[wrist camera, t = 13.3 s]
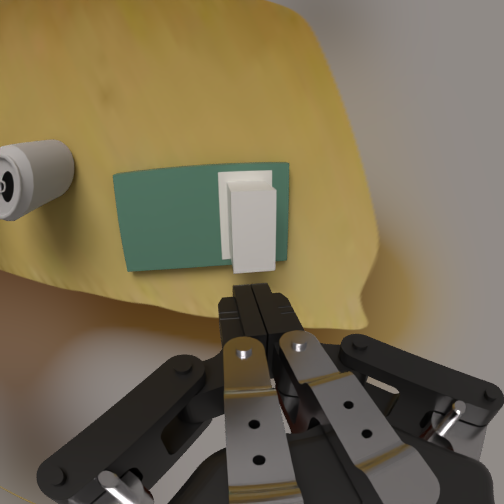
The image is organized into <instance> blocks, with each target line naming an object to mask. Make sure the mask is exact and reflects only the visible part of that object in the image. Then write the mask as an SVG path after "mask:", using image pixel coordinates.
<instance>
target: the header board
mask: <svg viewBox="0 0 504 504" xmlns="http://www.w3.org/2000/svg"><path fill="white" fill-rule="evenodd" d="M260 180H264V181H266V182H267V183H268V184H269V185H271V186H272V187H273V188H274V189H276V254H275V261H285V260H287V241H288V206H289V163H287V162H253V163H225V164H207V165H192V166H179V167H168V168H158V169H149V170H140V171H132V172H124V173H117V174H114V175H113V182H114V191H115V199H116V207H117V214H118V221H119V227H120V233H121V239H122V245H123V250H124V256H125V261H126V266H127V271H128V272H130V271H146V270H161V269H176V268H191V267H205V266H219V265H232V262H231V257H230V252H229V234H228V209H227V182H233V181H260Z"/></svg>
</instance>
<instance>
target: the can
mask: <svg viewBox="0 0 504 504" xmlns="http://www.w3.org/2000/svg"><path fill="white" fill-rule="evenodd" d="M73 175H74V160H73V157H72V153H71V152H70V150H69V149H68V147H67V146H66V145H65V144H64V143H62V142H61V141H58V140H54V139H53V140H43V141H34V142H26V143H19V144H12V145H7V146H2V147H0V219H3V220H6V221H15V220H17V219H18V218H20V217H22V216H24V215H26V214H27V213H29V212H31V211H33V210H34V209H36V208H38V207H40V206H42V205H44V204H46V203H48V202H49V201H51V200H53V199H55V198H57V197H59V196H61V195H63V194H64V193H65V192H66V191H67V190H68V188H69V186H70V184H71V182H72V180H73Z"/></svg>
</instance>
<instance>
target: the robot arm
mask: <svg viewBox="0 0 504 504" xmlns="http://www.w3.org/2000/svg"><path fill="white" fill-rule="evenodd" d="M218 311H219V325H220V335H221V343H222V350H221V351H220V353H219V354H218V355H216V356H215V357H213V358H211V359H208V360H205V361H201V360H200V359H199V358H197V357H195V356H192V355H177V356H174V357H172V358H170V359H168V360H167V361H166V362H165V363H164V364H162V365H161V366H160V367H159V368H158V369H157V370H155V371H154V372H153V373H152V374H151V375H150V376H148V377H147V378H146V379H145V380H144V381H142V382H141V383H140V384H139V385H138V386H136V387H135V388H134V389H133V390H132V391H131V392H129V393H128V394H127V395H126V396H125V397H123V398H122V399H121V400H120V401H119V402H117V403H116V404H115V405H114V406H112V407H111V408H110V409H109V410H108V411H106V412H105V413H104V414H103V415H102V416H100V417H99V418H98V419H97V420H95V421H94V422H93V423H92V424H90V426H88V427H87V428H86V429H84V430H83V431H82V432H81V433H79V434H78V435H77V436H76V437H74V438H73V439H72V440H71V441H69V442H68V443H67V444H65V445H64V446H63V447H62V448H60V449H59V450H58V451H57V452H55V453H54V454H53V455H51V456H50V457H49V458H48V459H46V460H45V461H44V462H43V463H42V464H41V465H40V466H39V468H38V471H37V483H38V486H39V488H40V489H41V491H42V492H43V493H44V494H45V495H47V496H48V497H49V498H51V499H52V500H54V501H55V502H57V503H58V504H154V498H153V496H152V494H151V492H150V491H149V490H150V489H151V488H152V487H153V486H154V485H155V484H156V483H157V481H158V480H159V479H160V478H161V477H162V476H163V475H164V474H165V473H166V472H167V471H168V470H169V469H170V468H171V467H172V466H173V465H174V463H175V462H176V461H177V460H178V459H179V458H180V457H181V456H182V455H183V454H184V453H185V452H186V451H187V449H188V448H189V447H190V446H191V445H192V444H193V443H194V441H195V440H196V439H197V438H198V437H199V436H200V435H201V434H202V432H203V431H204V430H205V429H206V428H207V427H208V426H209V424H210V423H211V421H212V418H214V417H217V416H220V415H223V414H225V433H226V448H223V449H221V450H219V451H217V452H215V453H214V454H212V455H211V456H209V457H208V458H207V459H205V461H203V462H202V463H201V464H200V465H199V467H198V468H197V469H196V470H195V471H194V473H193V474H192V475H191V476H190V478H189V479H188V480H187V481H186V483H185V484H184V485H183V486H182V487H181V489H180V490H179V491H178V492H177V493H176V495H175V496H174V497H173V498H172V499H171V500H170V502H169V503H168V504H495V503H494V495H493V481H492V477H491V474H490V472H489V471H488V469H487V468H486V467H485V465H483V464H482V463H481V462H479V459H480V455H481V451H482V447H483V443H484V438H485V433H486V428H487V425H488V423H489V422H490V421H491V420H492V419H493V417H494V416H495V415H496V414H497V412H498V411H499V410H500V408H501V407H502V406H503V404H504V395H503V393H502V391H501V390H500V388H499V387H497V386H496V385H494V384H492V383H490V382H487V381H484V380H481V379H478V378H475V377H472V376H470V375H467V374H464V373H462V372H459V371H456V370H453V369H450V368H448V367H445V366H443V365H440V364H437V363H434V362H432V361H429V360H427V359H424V358H421V357H419V356H416V355H414V354H411V353H408V352H406V351H403V350H401V349H398V348H396V347H393V346H390V345H388V344H386V343H383V342H381V341H378V340H376V339H373V338H371V337H368V336H366V335H362V334H351V335H348V336H346V337H345V338H343V340H342V342H341V345H332V344H323V343H319V341H318V340H317V339H316V337H315V336H314V335H312V334H311V333H308V332H305V331H304V329H303V327H302V325H301V323H300V321H299V319H298V317H297V315H296V314H295V313H294V310H293V308H292V307H291V304H290V302H289V300H288V298H286V297H285V296H284V295H282V294H281V293H272V292H271V290H270V288H269V286H268V283H259V284H247V285H234V286H233V297H224V298H222V299H221V300H220V302H219V304H218ZM368 376H369V377H371V378H374V379H376V380H378V381H381V382H383V383H385V384H388V385H390V386H392V387H395V388H396V389H397V390H398V391H399V393H398V394H393V393H390V392H388V391H385V390H383V389H381V388H379V387H376V386H374V385H372V384H369V383H367V382H366V381H367V378H368ZM272 378H274V380H275V383H276V385H275V388H272V385H271V380H270V379H272ZM279 404H280V405H279ZM280 406H281V409H282V411H283V414H284V416H285V418H286V420H287V423H288V425H289V427H290V430H291V434H289V433H285V428H284V423H283V419H282V414H281V409H280Z"/></svg>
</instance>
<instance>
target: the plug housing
mask: <svg viewBox="0 0 504 504" xmlns="http://www.w3.org/2000/svg"><path fill="white" fill-rule="evenodd" d="M227 209H228V234H229V252H230V257H231V262H232V267H233V272H234V274H235V273H248V272H261V271H273V270H275V254H276V189H274V188H273V187H272V186H271V185H269V184H268V183H267V182H266V181H264V180H260V181H233V182H227Z"/></svg>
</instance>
